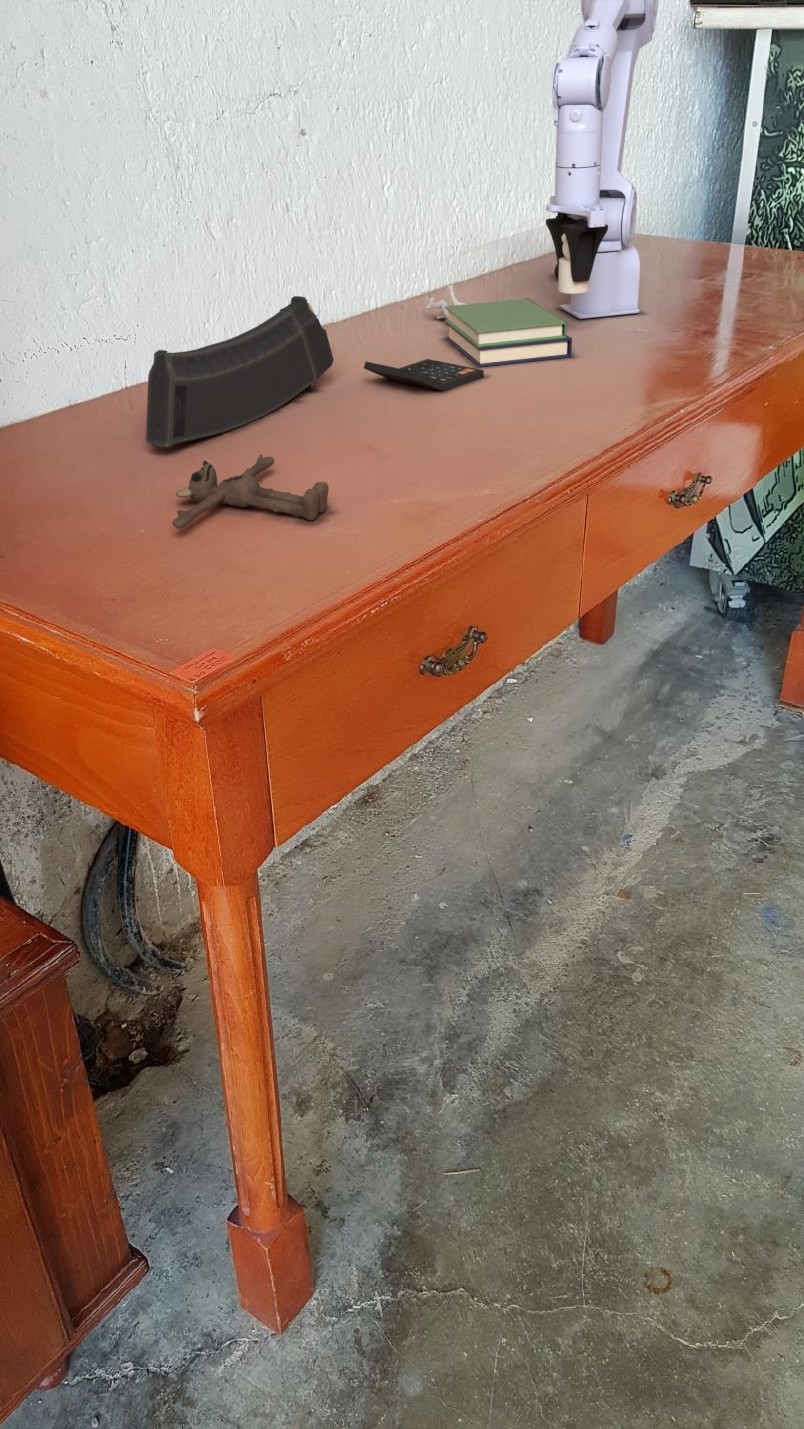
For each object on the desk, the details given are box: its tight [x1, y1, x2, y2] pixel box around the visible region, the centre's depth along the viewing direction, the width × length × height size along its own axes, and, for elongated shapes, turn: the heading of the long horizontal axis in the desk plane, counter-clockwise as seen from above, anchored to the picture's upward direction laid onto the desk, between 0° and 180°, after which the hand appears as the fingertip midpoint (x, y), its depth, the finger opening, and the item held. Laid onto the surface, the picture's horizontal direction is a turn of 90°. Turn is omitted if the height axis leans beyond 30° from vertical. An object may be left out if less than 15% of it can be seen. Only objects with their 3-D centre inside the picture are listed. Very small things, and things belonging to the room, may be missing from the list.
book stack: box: [444, 297, 573, 368], centre depth 153 cm, size 12×16×4 cm
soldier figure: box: [425, 283, 467, 320], centre depth 164 cm, size 8×5×12 cm
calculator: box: [363, 358, 485, 392], centre depth 141 cm, size 9×12×3 cm
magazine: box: [145, 295, 334, 449], centre depth 129 cm, size 17×3×30 cm
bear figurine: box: [171, 454, 329, 529], centre depth 107 cm, size 18×4×14 cm
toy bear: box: [557, 233, 590, 295], centre depth 151 cm, size 4×4×7 cm
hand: (574, 277), depth 153 cm, fingers closed on toy bear, 4 cm apart
